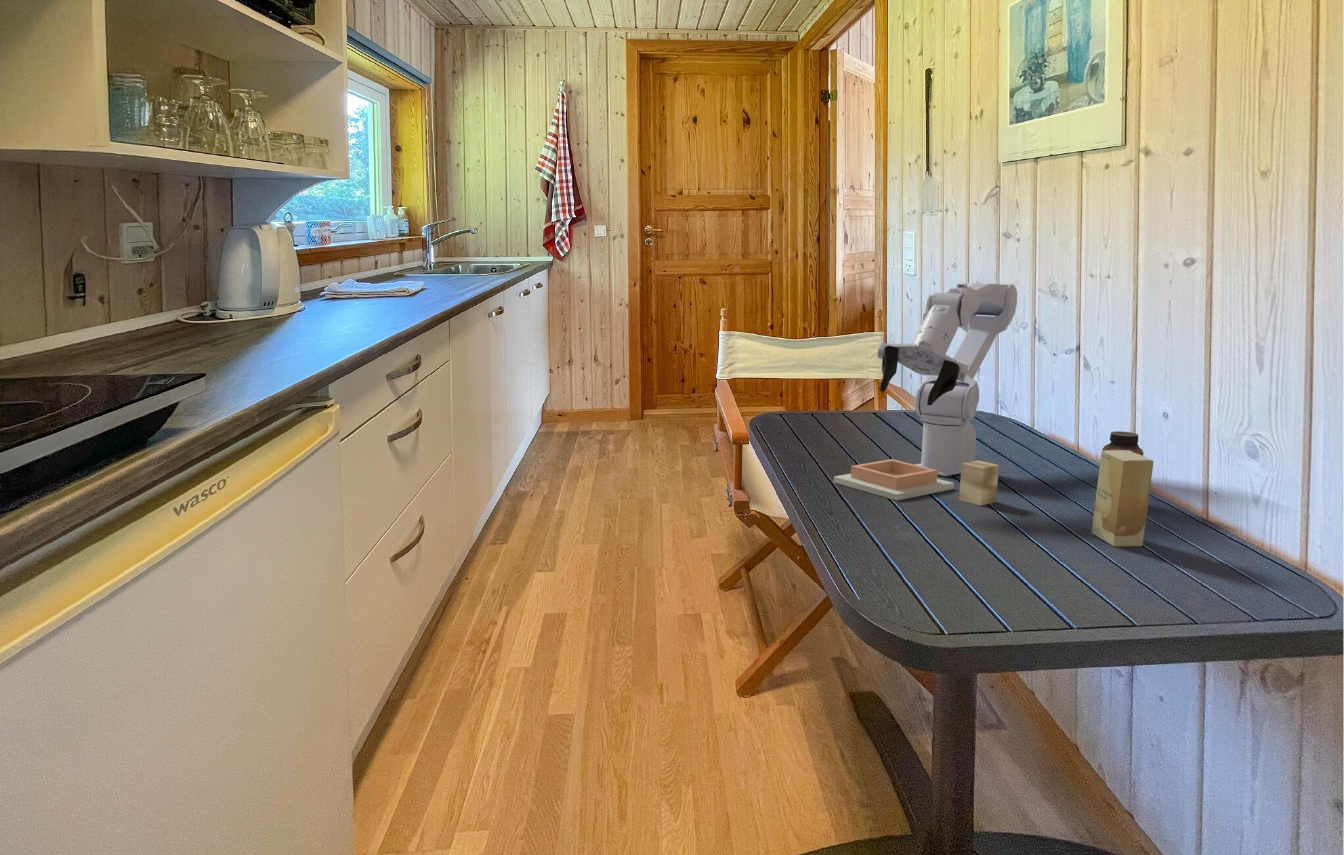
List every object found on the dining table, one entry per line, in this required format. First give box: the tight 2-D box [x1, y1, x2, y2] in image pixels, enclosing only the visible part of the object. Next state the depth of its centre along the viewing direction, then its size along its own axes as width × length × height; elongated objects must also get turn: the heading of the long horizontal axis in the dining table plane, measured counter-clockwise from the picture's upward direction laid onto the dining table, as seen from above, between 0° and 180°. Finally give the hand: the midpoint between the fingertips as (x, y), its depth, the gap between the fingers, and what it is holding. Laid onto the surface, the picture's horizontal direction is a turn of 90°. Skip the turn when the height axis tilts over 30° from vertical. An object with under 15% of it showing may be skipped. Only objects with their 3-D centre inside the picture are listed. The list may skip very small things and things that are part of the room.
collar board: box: [833, 458, 955, 501], centre depth 162 cm, size 14×14×3 cm
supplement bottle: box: [1101, 430, 1144, 456], centre depth 152 cm, size 6×6×11 cm
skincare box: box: [1091, 450, 1155, 547], centre depth 132 cm, size 6×4×12 cm
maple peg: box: [958, 459, 1000, 506], centre depth 153 cm, size 4×4×6 cm
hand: (906, 393), depth 153 cm, fingers open, 7 cm apart
